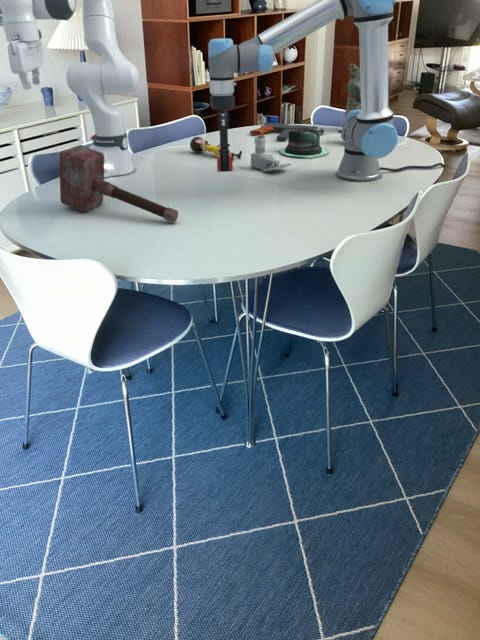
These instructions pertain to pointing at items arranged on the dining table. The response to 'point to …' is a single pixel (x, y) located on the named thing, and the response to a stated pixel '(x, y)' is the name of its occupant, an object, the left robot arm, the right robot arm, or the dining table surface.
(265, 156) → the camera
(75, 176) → the sledgehammer
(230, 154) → the block
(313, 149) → the dark green rounded hat
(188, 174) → the dining table surface
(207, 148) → the figurine
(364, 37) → the right robot arm
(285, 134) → the submachine gun
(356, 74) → the statue
